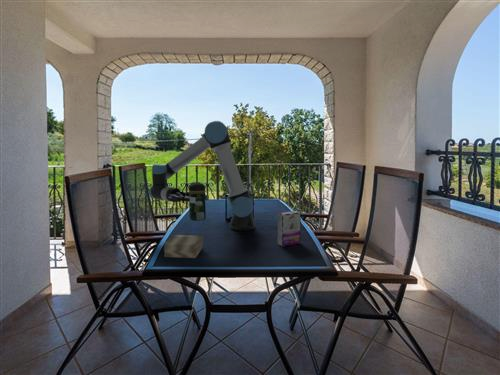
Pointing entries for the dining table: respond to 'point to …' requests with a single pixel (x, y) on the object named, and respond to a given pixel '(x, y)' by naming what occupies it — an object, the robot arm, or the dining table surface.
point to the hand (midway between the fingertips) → (201, 199)
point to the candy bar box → (289, 228)
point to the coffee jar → (197, 201)
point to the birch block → (183, 246)
